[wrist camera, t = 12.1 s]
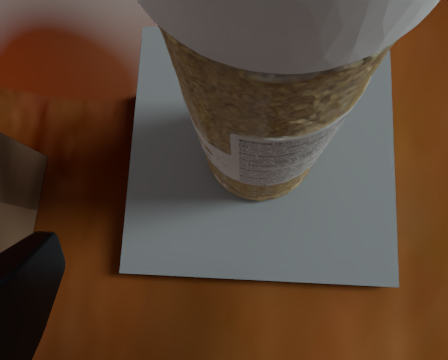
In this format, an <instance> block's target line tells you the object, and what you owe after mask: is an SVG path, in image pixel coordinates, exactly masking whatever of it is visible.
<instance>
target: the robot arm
mask: <svg viewBox="0 0 448 360" xmlns="http://www.w3.org/2000/svg"><path fill="white" fill-rule="evenodd" d="M64 270H65V258H64V255H63V252H62V248H61V245H60V242H59V239H58V236H57V235H56V234H55V233H54V232H43V231H37V232H34V233H32V234H30V235H29V236H27V237H25V238H24V239H22V240H20V241H19V242H17V243H15V244H14V245H12V246H10V247H9V248H7V249H5V250H4V251H2V252H1V253H0V360H32V358H33V356H34V354H35V351H36V349H37V347H38V345H39V342H40V340H41V338H42V335H43V333H44V330H45V327H46V324H47V321H48V318H49V315H50V312H51V309H52V306H53V303H54V300H55V297H56V294H57V291H58V288H59V285H60V282H61V279H62V276H63V273H64Z"/></svg>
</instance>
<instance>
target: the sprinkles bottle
mask: <svg viewBox="0 0 448 360" xmlns="http://www.w3.org/2000/svg"><path fill="white" fill-rule="evenodd" d="M137 1H138V3H139V4H140V5H141V6H142V8H143V9H144V10H145V11H146V12H147V14H148V15H149V16H150V17H151V19H152V20H153V21H154V22H155V23H156V24H157V25H158V27H159V29H160V30H161V33H162V35H163V38H164V41H165V44H166V47H167V50H168V52H169V55H170V58H171V61H172V65H173V67H174V69H175V72H176V75H177V78H178V81H179V86H180V90H181V93H182V96H183V100H184V102H185V105H186V107H187V109H188V112H189V115H190V117H191V120H192V123H193V125H194V127H195V130H196V133H197V135H198V138H199V140H200V143H201V145H202V148H203V150H204V152H205V153H206V159H207V162H208V165H209V167H210V170H211V172H212V173H213V175H214V177H215V178H216V180H217V181H218V182H219V183H220V184H221V185H222V186H223V187H224V188H226V189H227V190H228V191H229V192H231V193H233V194H235V195H237V196H239V197H242V198H246V199H249V200H256V201H265V200H269V199H276V198H279V197H282V196H284V195H286V194H288V193H289V192H291V191H292V190H294V189H295V188H297V187H298V186H299V185H300V184H301V182H302V181H303V179H304V178H305V177H306V175H307V174H308V172H309V170H310V168H311V165H312V164H313V163H314V162H315V161H316V160H317V158H318V157H319V156H320V154H321V153H322V151H323V150H324V149H325V147H326V146H327V144H328V143H329V141H330V140H331V139H332V137H333V136H334V134H335V133H336V132H337V130H338V129H339V127H340V126H341V125H342V123H343V122H344V120H345V119H346V117H347V116H348V114H349V113H350V111H351V110H352V109H353V107H354V106H355V105H356V103H357V102H358V100H359V99H360V98H361V96H362V94H363V93H364V91H365V89H366V87H367V86H368V83H369V81H370V78H371V76H372V74H373V73H374V72H375V70H376V69H377V68H378V66H379V65H380V63H381V62H382V60H383V59H384V57H385V56H386V54H387V52H388V50H389V49H390V48H391V46H392V45H393V44H394V43H395V42H396V41H397V40H398V39H399V38H400V37H402V36H403V35H405V34H406V33H407V32H409V31H410V30H411V29H413V28H414V27H415V26H416V25H418V24H419V23H420V22H421V21H422V20H423V19H424V18H425V17H426V16H427V15H428V14H429V13H430V12H431V10H432V9H433V8H434V7H435V6H436V5H437V3H438V2H439V1H440V0H137Z"/></svg>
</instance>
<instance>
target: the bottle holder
mask: <svg viewBox="0 0 448 360" xmlns="http://www.w3.org/2000/svg"><path fill="white" fill-rule="evenodd" d="M47 158H48V157H47V156H45V155H43V154H41V153H39V152H37V151H35V150H33V149H31V148H29V147H27V146H25V145H24V144H22V143H20V142H18V141H16V140H14V139H12V138H10V137H8V136H6V135H4V134H2V133H0V253H1V252H2V251H4V250H5V249H7V248H9V247H10V246H12V245H14V244H15V243H17V242H19V241H20V240H22V239H24V238H25V237H27V236H29V235H30V234H32V233H33V231H34V226H35V220H36V215H37V210H38V205H39V199H40V194H41V189H42V184H43V178H44V173H45V168H46V163H47Z"/></svg>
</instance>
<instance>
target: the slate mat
mask: <svg viewBox="0 0 448 360" xmlns="http://www.w3.org/2000/svg"><path fill="white" fill-rule="evenodd" d="M119 273H126V274H145V275H165V276H184V277H204V278H224V279H243V280H263V281H282V282H302V283H322V284H341V285H361V286H380V287H399V271H398V245H397V219H396V193H395V167H394V141H393V115H392V89H391V63H390V49H389V50H388V52H387V54H386V56H385V57H384V59H383V60H382V62H381V63H380V65H379V66H378V68H377V69H376V70H375V72H374V73H373V74H372V76H371V78H370V81H369V83H368V86H367V87H366V89H365V91H364V93H363V94H362V96H361V98H360V99H359V100H358V102H357V103H356V105H355V106H354V107H353V109H352V110H351V111H350V113H349V114H348V116H347V117H346V119H345V120H344V122H343V123H342V125H341V126H340V127H339V129H338V130H337V132H336V133H335V134H334V136H333V137H332V139H331V140H330V141H329V143H328V144H327V146H326V147H325V149H324V150H323V151H322V153H321V154H320V156H319V157H318V158H317V160H316V161H315V162H314V163H313V164H312V165H311V168H310V170H309V172H308V174H307V175H306V177H305V178H304V179H303V181H302V182H301V184H300V185H299V186H298V187H297V188H295V189H294V190H292V191H291V192H289V193H288V194H286V195H284V196H282V197H279V198H276V199H269V200H265V201H256V200H249V199H246V198H242V197H239V196H237V195H235V194H233V193H231V192H229V191H228V190H227V189H226V188H224V187H223V186H222V185H221V184H220V183H219V182H218V181H217V180H216V178H215V177H214V175H213V173H212V172H211V170H210V167H209V165H208V162H207V159H206V153H205V152H204V150H203V148H202V145H201V143H200V140H199V138H198V135H197V133H196V130H195V127H194V125H193V123H192V120H191V117H190V115H189V112H188V109H187V107H186V105H185V102H184V100H183V96H182V93H181V90H180V86H179V81H178V78H177V75H176V72H175V69H174V67H173V65H172V61H171V58H170V55H169V52H168V50H167V47H166V44H165V41H164V38H163V35H162V33H161V30H160V29H159V27H143V31H142V42H141V53H140V63H139V73H138V83H137V94H136V104H135V115H134V125H133V135H132V146H131V156H130V167H129V177H128V188H127V198H126V208H125V219H124V229H123V240H122V250H121V260H120V271H119Z"/></svg>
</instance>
